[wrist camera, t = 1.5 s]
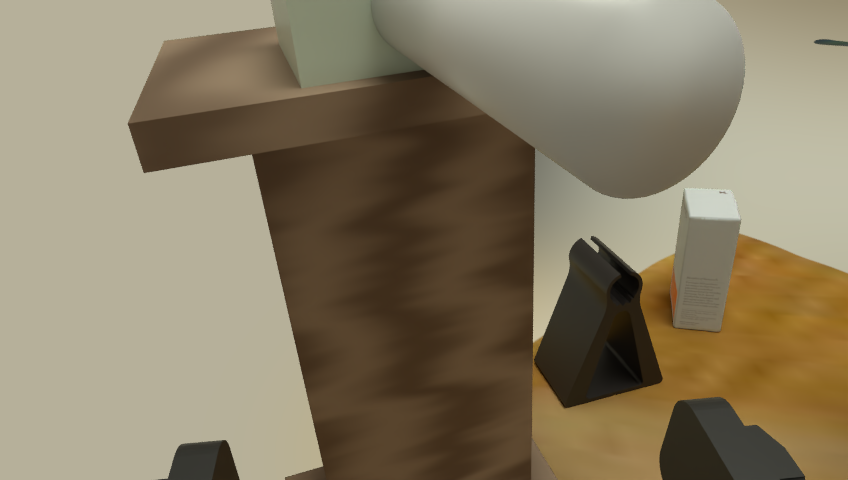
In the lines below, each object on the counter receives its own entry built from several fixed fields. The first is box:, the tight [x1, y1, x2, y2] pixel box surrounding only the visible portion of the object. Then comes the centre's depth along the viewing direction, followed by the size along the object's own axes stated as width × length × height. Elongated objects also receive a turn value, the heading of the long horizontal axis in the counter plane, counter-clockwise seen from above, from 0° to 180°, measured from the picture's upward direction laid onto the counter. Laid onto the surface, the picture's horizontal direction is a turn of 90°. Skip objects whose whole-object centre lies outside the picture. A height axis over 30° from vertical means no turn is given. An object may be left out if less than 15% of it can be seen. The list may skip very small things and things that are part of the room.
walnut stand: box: [128, 27, 557, 480], centre depth 33 cm, size 18×14×32 cm
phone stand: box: [534, 236, 662, 408], centre depth 50 cm, size 9×6×12 cm, turn 105°
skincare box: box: [670, 188, 741, 332], centre depth 56 cm, size 6×4×12 cm
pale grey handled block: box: [271, 0, 745, 199], centre depth 17 cm, size 8×20×4 cm, turn 17°
